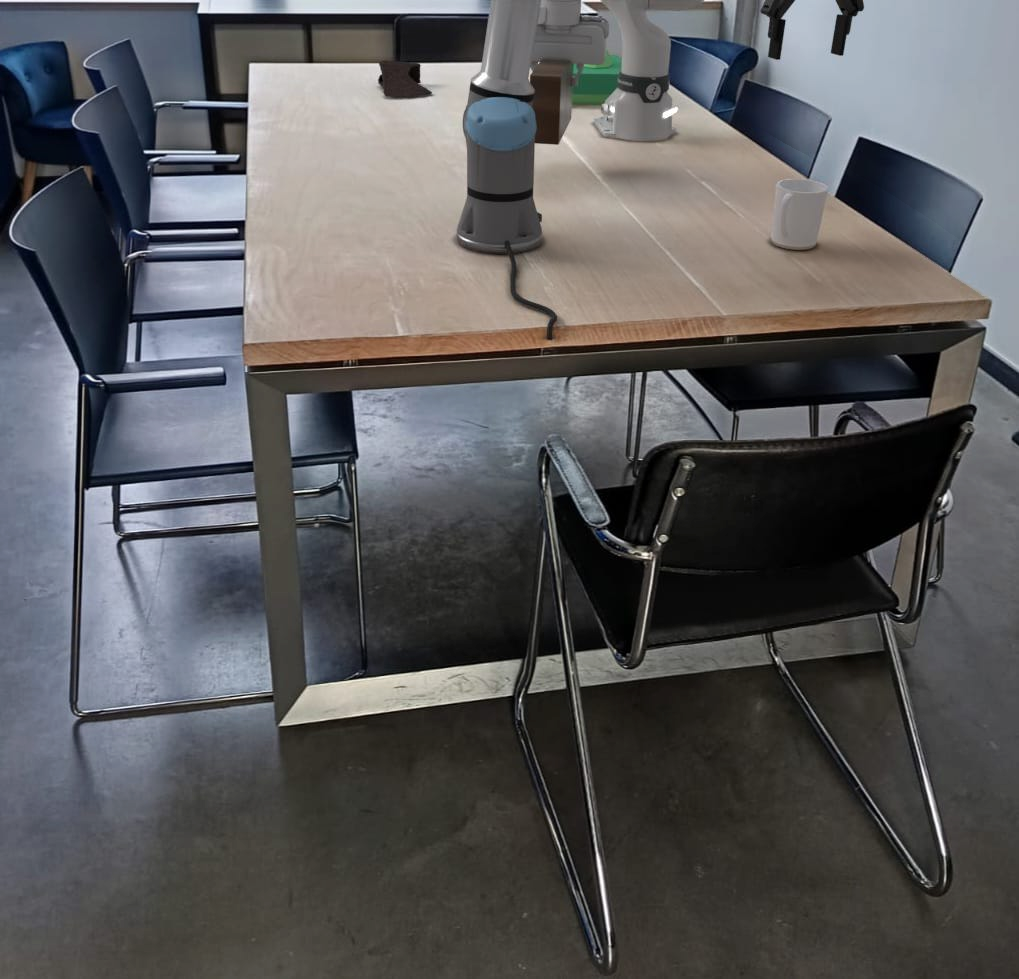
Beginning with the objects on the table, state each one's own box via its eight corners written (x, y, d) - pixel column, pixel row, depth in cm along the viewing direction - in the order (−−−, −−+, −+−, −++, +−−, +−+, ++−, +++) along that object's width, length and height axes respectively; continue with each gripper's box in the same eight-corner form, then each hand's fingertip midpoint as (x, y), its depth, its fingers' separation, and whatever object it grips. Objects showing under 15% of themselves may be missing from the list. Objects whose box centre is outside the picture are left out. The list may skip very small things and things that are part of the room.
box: (558, 144, 218) (561, 76, 211) (528, 143, 219) (530, 74, 212) (571, 119, 237) (574, 55, 231) (543, 117, 238) (545, 54, 231)
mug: (782, 231, 203) (791, 175, 197) (827, 242, 198) (837, 185, 193) (753, 245, 196) (761, 188, 190) (799, 257, 191) (809, 198, 185)
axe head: (443, 87, 294) (392, 77, 287) (436, 115, 299) (385, 106, 292) (421, 62, 307) (371, 52, 300) (414, 89, 311) (365, 80, 304)
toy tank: (614, 36, 311) (632, 59, 281) (611, 81, 317) (628, 108, 287) (553, 34, 310) (563, 57, 280) (550, 80, 316) (561, 107, 286)
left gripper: (871, -80, 192) (849, 49, 203) (751, -78, 183) (735, 56, 194) (899, -76, 186) (875, 56, 197) (777, -74, 177) (758, 64, 189)
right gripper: (611, 13, 224) (606, 84, 231) (512, 9, 227) (511, 79, 234) (608, 18, 219) (604, 90, 226) (507, 13, 221) (506, 85, 229)
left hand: (805, 56), depth 196 cm, fingers open, 13 cm apart
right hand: (556, 84), depth 230 cm, fingers closed on box, 6 cm apart
